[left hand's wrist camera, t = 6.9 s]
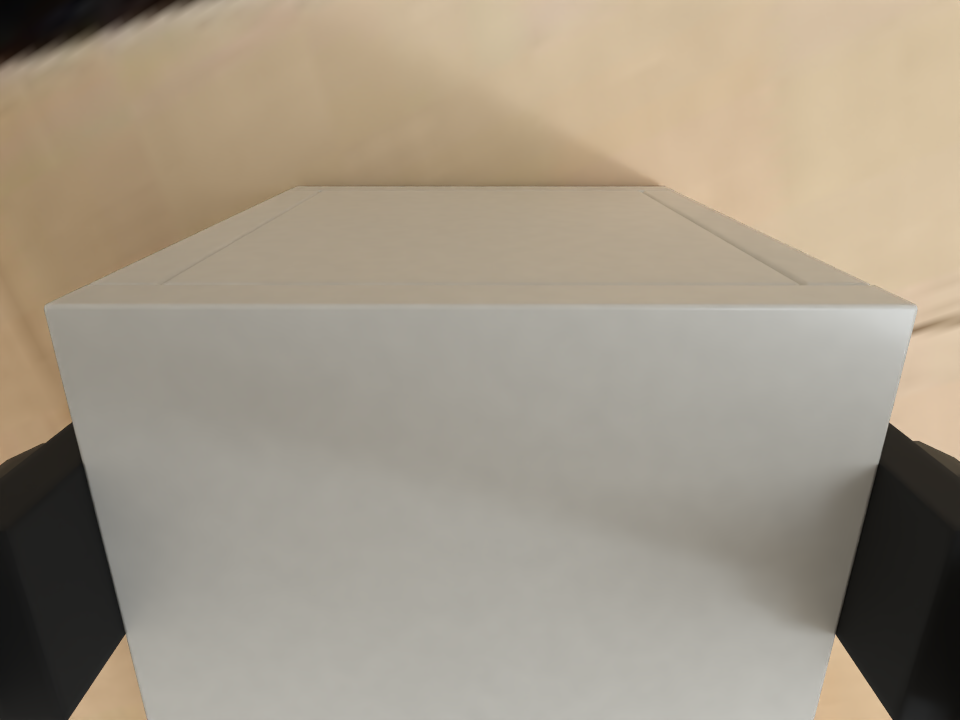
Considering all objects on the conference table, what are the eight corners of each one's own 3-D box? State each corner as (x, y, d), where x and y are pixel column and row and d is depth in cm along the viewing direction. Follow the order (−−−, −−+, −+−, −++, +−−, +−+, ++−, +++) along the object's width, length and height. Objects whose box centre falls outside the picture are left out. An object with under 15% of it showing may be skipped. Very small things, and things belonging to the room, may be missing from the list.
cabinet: (614, 712, 24) (707, 1145, 14) (346, 712, 24) (252, 1144, 14) (667, 186, 17) (922, 304, 7) (294, 185, 17) (39, 304, 7)
